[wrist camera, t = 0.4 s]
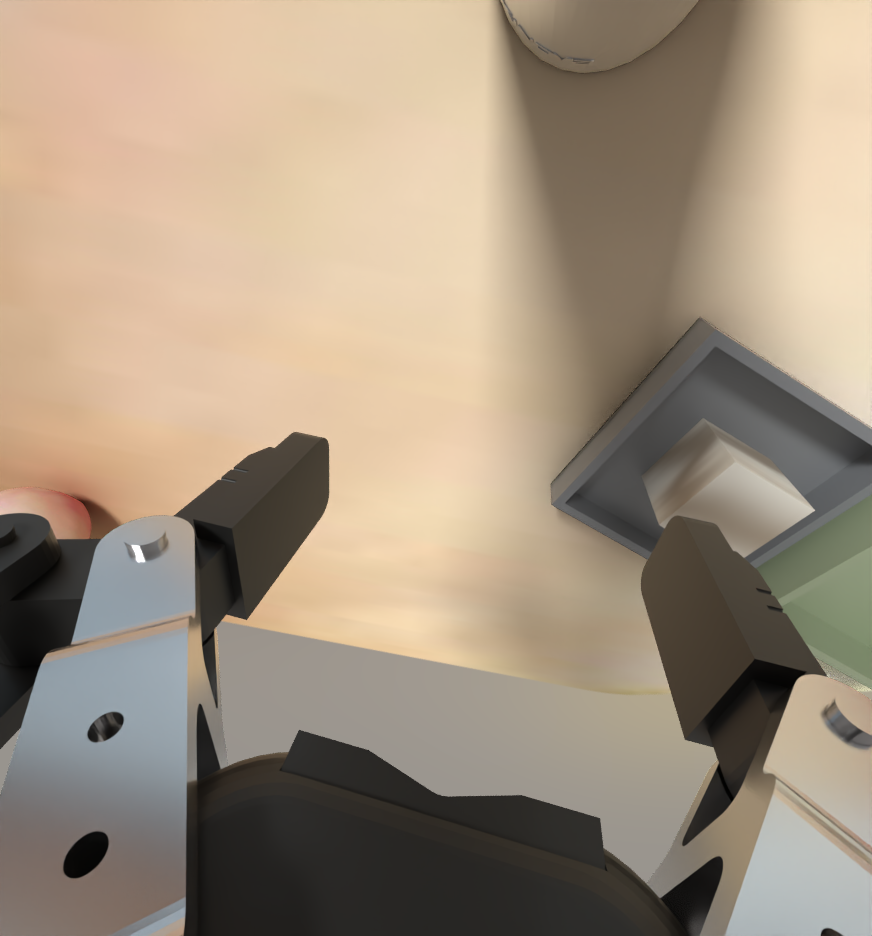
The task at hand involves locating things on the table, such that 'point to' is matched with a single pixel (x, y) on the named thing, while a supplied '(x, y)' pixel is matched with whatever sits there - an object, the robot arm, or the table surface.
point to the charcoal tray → (736, 412)
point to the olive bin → (831, 590)
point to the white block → (724, 488)
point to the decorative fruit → (49, 510)
